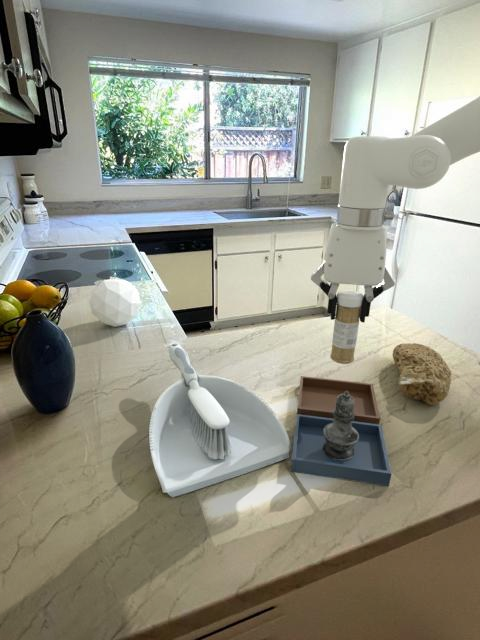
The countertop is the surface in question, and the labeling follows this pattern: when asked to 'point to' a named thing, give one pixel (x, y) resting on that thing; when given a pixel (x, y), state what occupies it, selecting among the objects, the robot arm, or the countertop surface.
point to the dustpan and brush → (210, 430)
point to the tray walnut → (323, 394)
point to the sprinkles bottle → (346, 326)
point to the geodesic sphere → (114, 301)
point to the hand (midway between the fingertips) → (347, 317)
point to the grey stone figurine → (341, 430)
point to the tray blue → (311, 459)
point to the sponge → (422, 373)
